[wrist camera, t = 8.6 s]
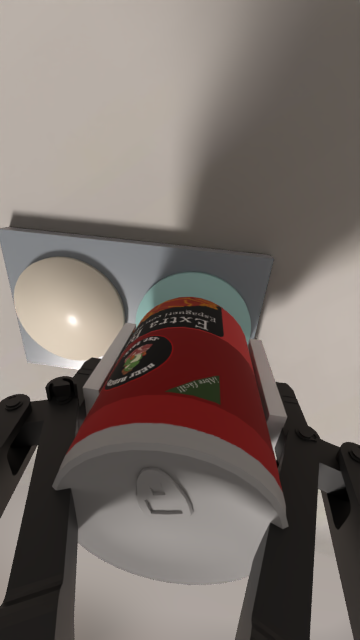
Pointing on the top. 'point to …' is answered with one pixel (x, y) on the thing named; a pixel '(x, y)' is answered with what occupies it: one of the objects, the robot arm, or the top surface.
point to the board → (104, 287)
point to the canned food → (177, 453)
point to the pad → (197, 295)
